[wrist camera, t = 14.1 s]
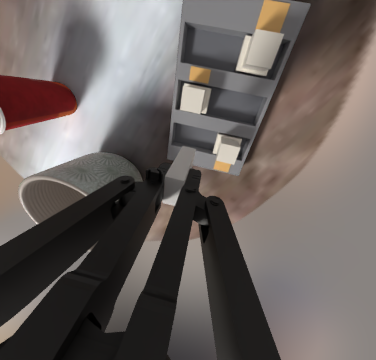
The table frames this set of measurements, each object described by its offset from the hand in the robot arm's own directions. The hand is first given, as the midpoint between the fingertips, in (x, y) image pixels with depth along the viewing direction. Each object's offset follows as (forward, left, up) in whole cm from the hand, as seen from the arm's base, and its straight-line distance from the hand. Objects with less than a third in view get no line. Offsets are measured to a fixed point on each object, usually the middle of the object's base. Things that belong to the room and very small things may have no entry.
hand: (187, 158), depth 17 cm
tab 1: (-5, -1, -12) cm, 13 cm away
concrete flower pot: (+15, -17, -13) cm, 26 cm away
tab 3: (-11, +5, -12) cm, 17 cm away
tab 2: (+1, +5, -12) cm, 13 cm away
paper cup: (0, -28, -13) cm, 31 cm away
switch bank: (-5, +2, -13) cm, 14 cm away
